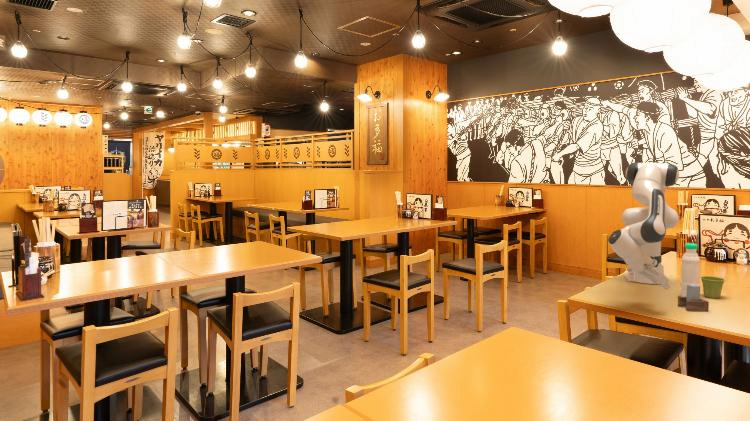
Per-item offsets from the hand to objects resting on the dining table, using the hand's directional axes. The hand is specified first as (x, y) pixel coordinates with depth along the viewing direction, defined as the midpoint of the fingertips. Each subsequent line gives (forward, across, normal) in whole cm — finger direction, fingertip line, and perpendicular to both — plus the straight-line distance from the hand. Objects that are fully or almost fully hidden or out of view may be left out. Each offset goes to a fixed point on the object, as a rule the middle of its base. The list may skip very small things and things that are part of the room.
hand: (662, 285), depth 204 cm
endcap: (+16, -1, -2) cm, 16 cm away
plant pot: (+29, +19, -16) cm, 38 cm away
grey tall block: (+16, -1, -2) cm, 16 cm away
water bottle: (+22, +17, -8) cm, 29 cm away
